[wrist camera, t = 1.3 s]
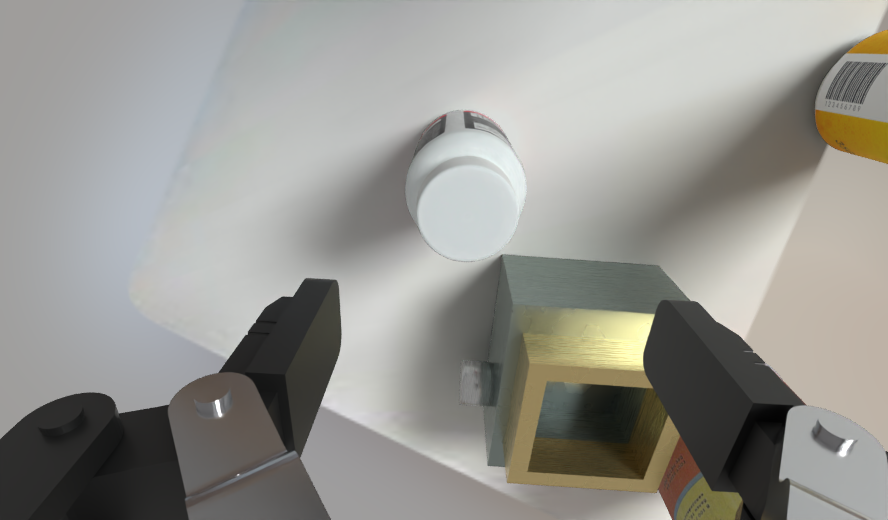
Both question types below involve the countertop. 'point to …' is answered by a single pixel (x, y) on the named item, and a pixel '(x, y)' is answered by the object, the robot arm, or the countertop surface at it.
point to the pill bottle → (465, 186)
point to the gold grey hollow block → (573, 375)
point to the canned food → (694, 489)
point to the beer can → (857, 101)
